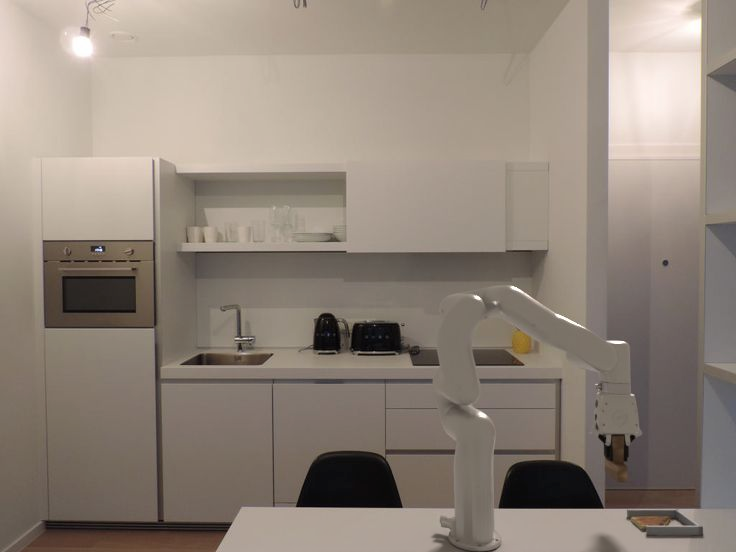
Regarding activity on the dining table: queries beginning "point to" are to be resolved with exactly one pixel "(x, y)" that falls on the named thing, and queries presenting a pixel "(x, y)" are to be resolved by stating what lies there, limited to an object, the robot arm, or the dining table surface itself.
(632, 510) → the frame
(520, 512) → the dining table surface
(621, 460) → the wooden step block
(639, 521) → the shard
